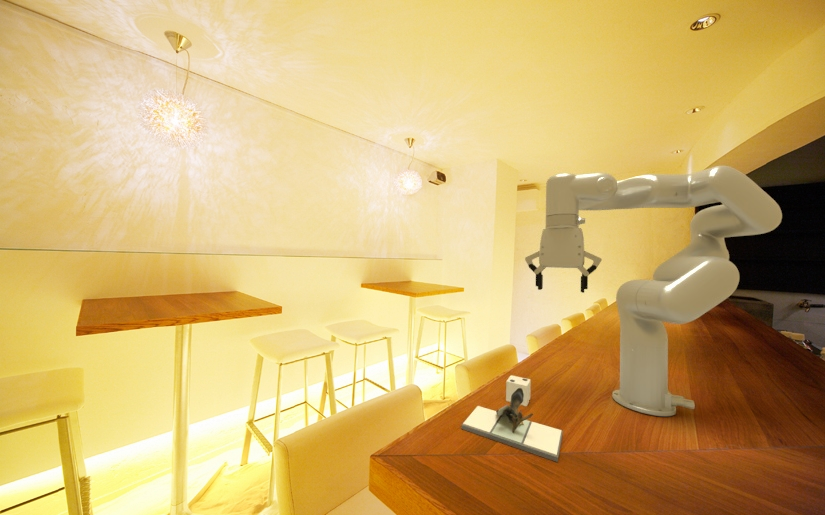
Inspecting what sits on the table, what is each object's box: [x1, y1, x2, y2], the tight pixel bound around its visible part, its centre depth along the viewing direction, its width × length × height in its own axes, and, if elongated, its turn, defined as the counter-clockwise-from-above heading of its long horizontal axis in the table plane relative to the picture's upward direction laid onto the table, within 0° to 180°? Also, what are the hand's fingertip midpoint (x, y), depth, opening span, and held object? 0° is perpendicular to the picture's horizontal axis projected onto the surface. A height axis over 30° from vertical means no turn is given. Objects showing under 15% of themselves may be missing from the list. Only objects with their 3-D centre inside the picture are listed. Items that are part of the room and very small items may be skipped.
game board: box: [460, 405, 564, 463], centre depth 60 cm, size 18×10×1 cm, turn 58°
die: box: [505, 375, 532, 407], centre depth 74 cm, size 5×5×5 cm
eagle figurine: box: [495, 388, 534, 433], centre depth 61 cm, size 8×7×9 cm
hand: (560, 290), depth 74 cm, fingers open, 9 cm apart
